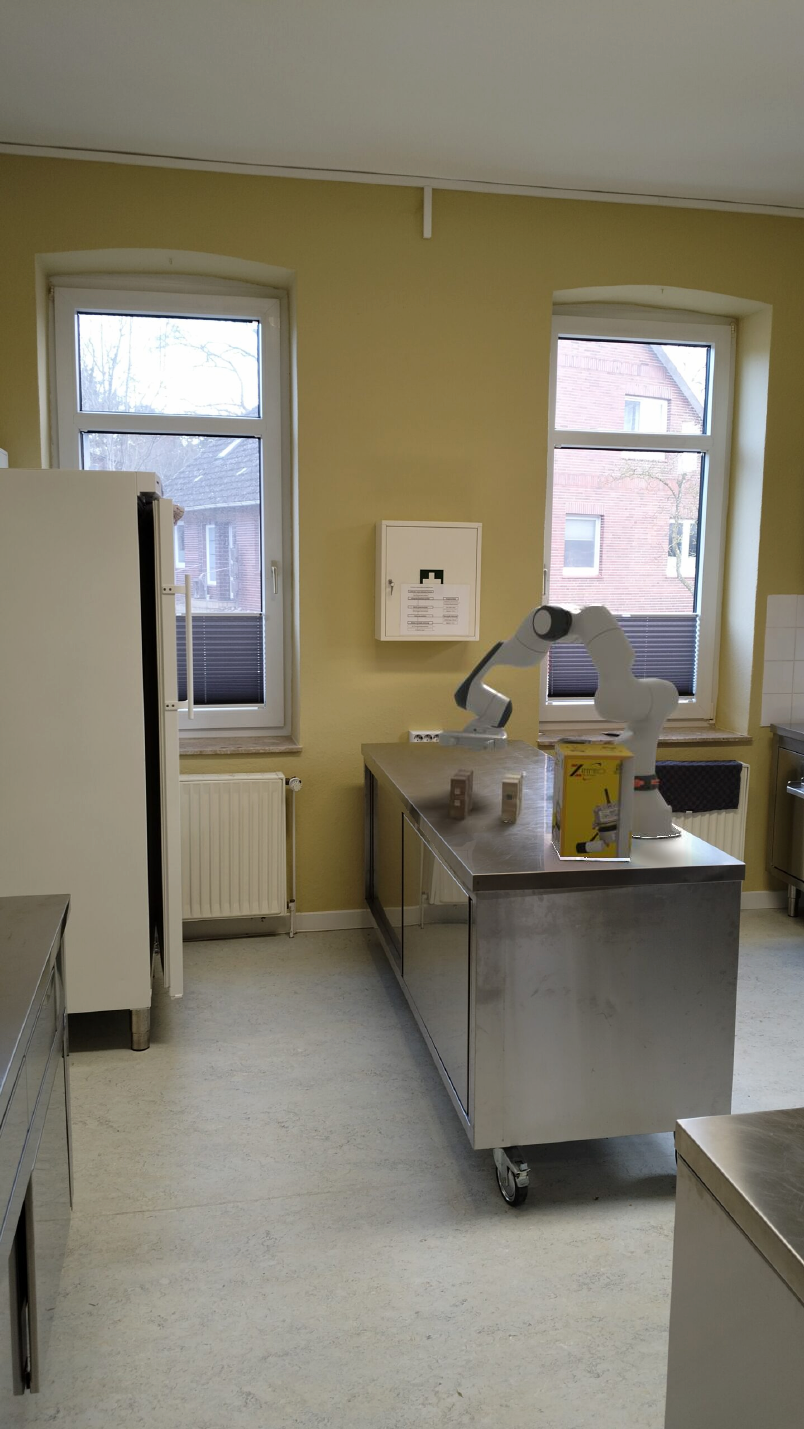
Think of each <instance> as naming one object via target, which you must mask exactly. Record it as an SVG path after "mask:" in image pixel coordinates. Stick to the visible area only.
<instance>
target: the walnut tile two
mask: <svg viewBox="0 0 804 1429" xmlns="http://www.w3.org/2000/svg"><path fill="white" fill-rule="evenodd" d="M473 782H474V769H458V770H457V771H456V772H455V773H454V775H453V776H452V777H451V778H450V791H449V792H450V795H449V796H450V799H449V819H453V820H454V819H455V820H466V818H467V816H468V815H469V814H468V813H470V812H471V811H470V810H472V809H473V794H474V793H473V791H474V789H473V788H474V787H473V786H474V784H473ZM467 814H468V815H467ZM465 817H466V818H465Z"/></svg>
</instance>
